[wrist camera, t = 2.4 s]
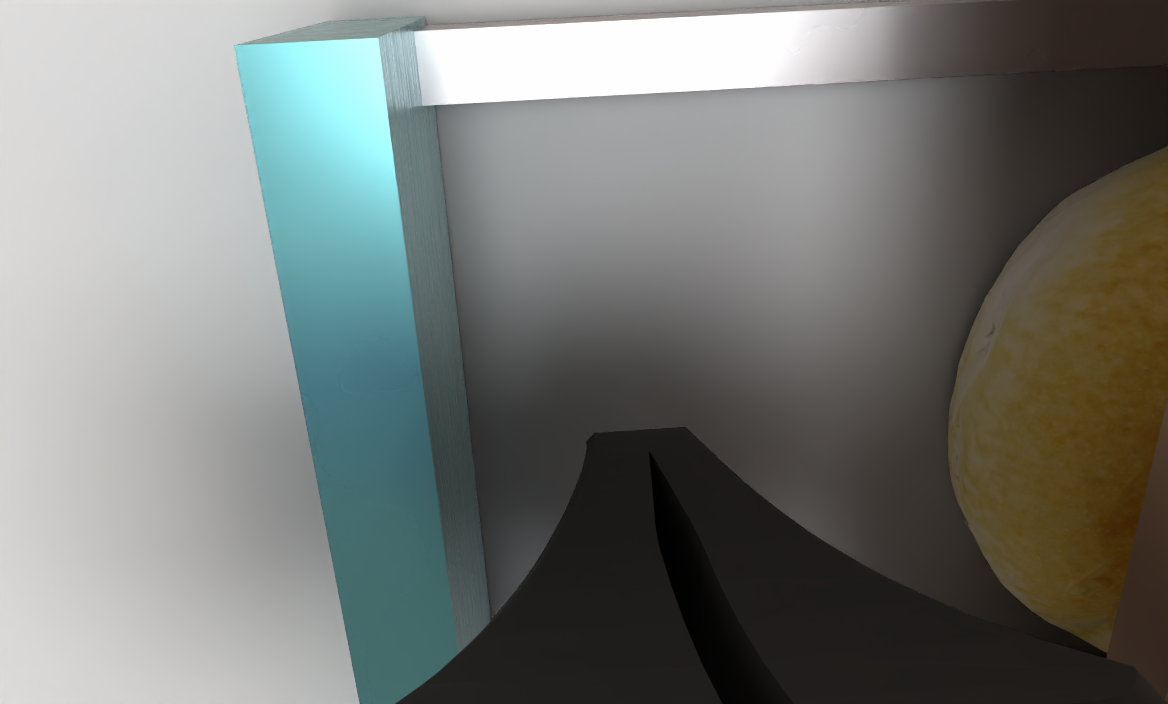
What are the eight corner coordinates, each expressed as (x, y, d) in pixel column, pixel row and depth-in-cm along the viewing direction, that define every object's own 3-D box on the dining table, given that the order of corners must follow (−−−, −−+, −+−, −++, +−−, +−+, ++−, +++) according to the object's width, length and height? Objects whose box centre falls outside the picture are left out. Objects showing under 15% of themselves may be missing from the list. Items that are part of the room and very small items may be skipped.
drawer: (1467, 677, 16) (1713, 862, 13) (437, 759, 16) (412, 976, 12) (1795, -55, 12) (2325, -66, 8) (326, 21, 11) (233, 45, 8)
